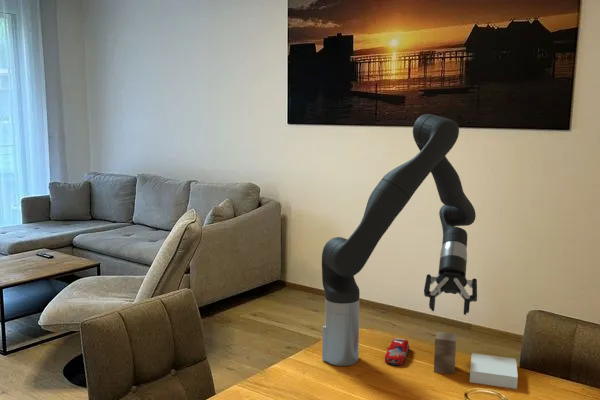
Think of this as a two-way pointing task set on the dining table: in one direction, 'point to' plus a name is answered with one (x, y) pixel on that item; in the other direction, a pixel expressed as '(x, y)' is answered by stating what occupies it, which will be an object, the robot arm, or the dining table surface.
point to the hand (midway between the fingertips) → (448, 311)
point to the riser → (493, 370)
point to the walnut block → (445, 353)
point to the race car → (397, 352)
